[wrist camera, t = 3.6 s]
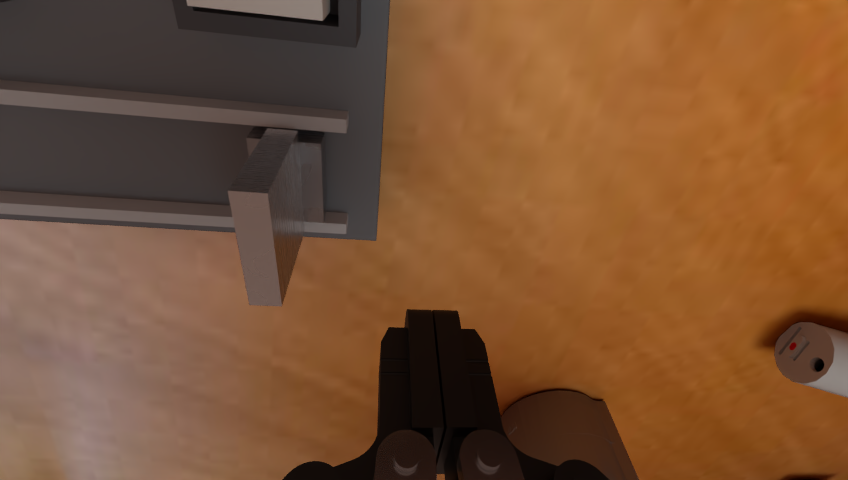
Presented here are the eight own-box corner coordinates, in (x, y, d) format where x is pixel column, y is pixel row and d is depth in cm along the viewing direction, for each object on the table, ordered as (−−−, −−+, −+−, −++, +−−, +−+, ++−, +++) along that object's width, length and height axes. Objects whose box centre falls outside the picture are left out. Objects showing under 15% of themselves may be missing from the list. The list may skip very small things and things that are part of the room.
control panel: (403, -235, 14) (405, -302, 10) (378, 210, 25) (374, 267, 21) (-290, -361, 12) (-650, -511, 8) (7, 185, 23) (-79, 244, 19)
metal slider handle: (324, 121, 18) (297, 195, 13) (327, 217, 21) (306, 307, 16) (252, 115, 18) (196, 188, 13) (265, 213, 21) (224, 303, 16)
